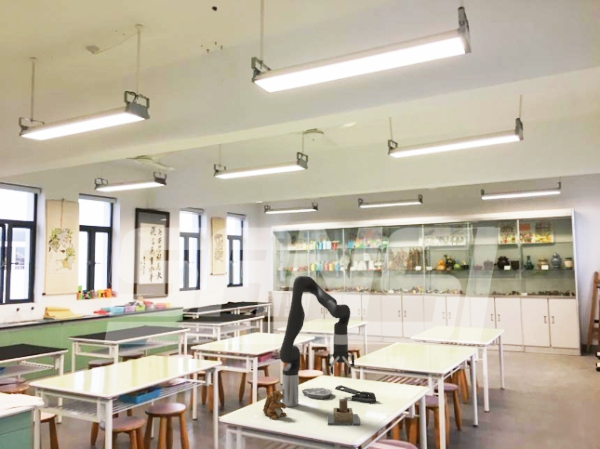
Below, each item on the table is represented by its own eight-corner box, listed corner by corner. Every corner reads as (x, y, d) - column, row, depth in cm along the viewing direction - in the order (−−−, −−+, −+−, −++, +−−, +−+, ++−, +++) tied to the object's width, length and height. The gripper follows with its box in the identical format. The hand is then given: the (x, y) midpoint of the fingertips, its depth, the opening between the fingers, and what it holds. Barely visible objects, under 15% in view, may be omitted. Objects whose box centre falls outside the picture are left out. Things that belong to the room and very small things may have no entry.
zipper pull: (340, 384, 296) (377, 389, 284) (340, 395, 296) (378, 401, 283) (333, 387, 289) (371, 392, 276) (333, 398, 288) (372, 404, 275)
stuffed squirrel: (275, 420, 245) (275, 394, 246) (257, 415, 255) (257, 389, 256) (289, 416, 252) (289, 390, 254) (271, 411, 262) (271, 386, 263)
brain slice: (339, 396, 296) (339, 391, 296) (321, 401, 283) (321, 396, 283) (315, 391, 308) (315, 386, 309) (297, 396, 296) (297, 391, 296)
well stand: (327, 425, 237) (327, 414, 237) (327, 415, 253) (327, 406, 253) (360, 425, 236) (359, 415, 237) (357, 416, 252) (357, 406, 253)
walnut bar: (339, 419, 243) (339, 401, 244) (339, 417, 247) (339, 399, 248) (347, 419, 243) (347, 401, 244) (347, 417, 247) (346, 399, 247)
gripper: (327, 343, 248) (327, 375, 246) (354, 344, 247) (354, 376, 245) (327, 341, 255) (327, 372, 254) (353, 342, 254) (353, 373, 253)
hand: (340, 374), depth 250 cm, fingers open, 8 cm apart
